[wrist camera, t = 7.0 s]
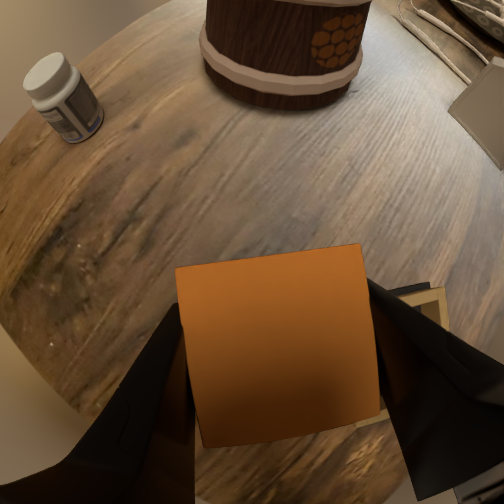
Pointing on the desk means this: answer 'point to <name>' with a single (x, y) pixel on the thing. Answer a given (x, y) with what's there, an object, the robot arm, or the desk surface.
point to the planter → (481, 17)
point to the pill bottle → (63, 98)
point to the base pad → (429, 305)
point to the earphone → (450, 32)
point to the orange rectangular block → (279, 345)
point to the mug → (284, 49)
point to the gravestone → (484, 110)
